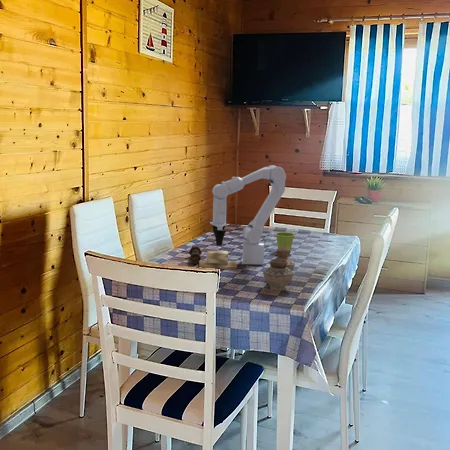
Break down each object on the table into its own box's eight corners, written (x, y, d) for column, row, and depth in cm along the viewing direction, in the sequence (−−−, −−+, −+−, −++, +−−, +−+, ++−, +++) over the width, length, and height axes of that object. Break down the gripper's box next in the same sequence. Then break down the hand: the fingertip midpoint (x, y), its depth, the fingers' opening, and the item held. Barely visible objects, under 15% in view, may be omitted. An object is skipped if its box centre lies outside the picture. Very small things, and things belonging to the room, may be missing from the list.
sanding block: (227, 262, 236) (227, 250, 235) (227, 265, 231) (228, 253, 230) (206, 261, 235) (206, 250, 235) (206, 264, 231) (206, 253, 230)
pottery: (296, 276, 221) (297, 247, 219) (291, 294, 197) (293, 262, 195) (268, 274, 223) (269, 245, 221) (260, 291, 199) (261, 259, 197)
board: (235, 263, 239) (236, 261, 238) (237, 269, 229) (237, 266, 228) (199, 262, 238) (199, 260, 238) (198, 268, 228) (198, 265, 228)
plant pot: (293, 254, 258) (294, 236, 257) (273, 253, 260) (274, 235, 259) (294, 250, 267) (295, 232, 266) (275, 248, 269) (276, 231, 268)
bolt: (193, 269, 234) (193, 259, 249) (203, 263, 234) (203, 254, 248) (186, 257, 233) (187, 248, 247) (197, 252, 232) (197, 243, 247)
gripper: (209, 209, 241) (209, 239, 243) (210, 215, 226) (209, 247, 229) (225, 210, 241) (225, 240, 243) (227, 215, 227) (226, 247, 229)
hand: (218, 243), depth 236 cm, fingers open, 7 cm apart
